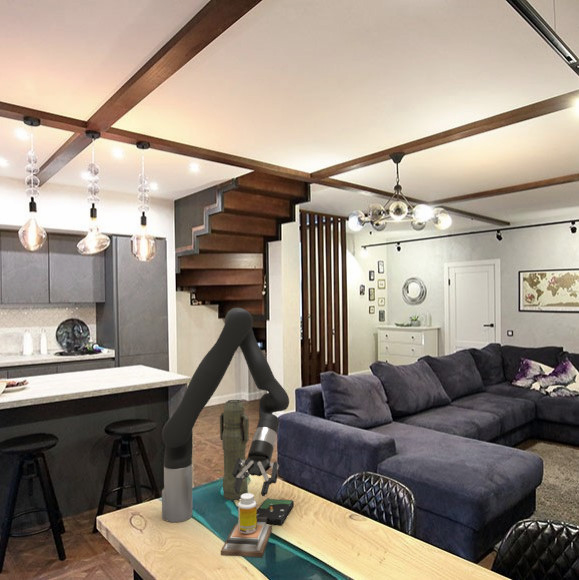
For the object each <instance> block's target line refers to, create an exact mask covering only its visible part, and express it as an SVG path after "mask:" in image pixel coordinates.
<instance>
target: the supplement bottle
mask: <svg viewBox="0 0 579 580" xmlns="http://www.w3.org/2000/svg"><path fill="white" fill-rule="evenodd" d="M254 498H255V495H254V494H253V493H250V492H249V493H248V492H247V493H245V494H242V495H241V500H239V502H238V504H237V521H238V522H237V523H238V530H239V532H241V533H243V534H251V533H253V532H255V531H256V529H257V509H258V508H257V506H258V505H257V501H256V500H255V499H254Z"/></svg>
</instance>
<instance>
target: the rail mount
mask: <svg viewBox="0 0 579 580" xmlns="http://www.w3.org/2000/svg"><path fill="white" fill-rule="evenodd" d="M266 522H267V517H257V529H256V531H255V532H253V533H251V534H243V533H241V532H239V530H238V522H237V523H234V525H233V527H232V529H231V531H230V533H229V534H228V536H227V538H226V539H225V542H224V544H223V546H222V547H221V550H220V556H234V557H235V556H236V557H254V558H263V556H264V554H265V551H266V548H267V546H268V543H269V540H270V536H271V535H272V531H273V525H267V524H266Z"/></svg>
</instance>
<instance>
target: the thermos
mask: <svg viewBox="0 0 579 580" xmlns="http://www.w3.org/2000/svg"><path fill="white" fill-rule="evenodd" d="M249 423H250V421H249V416H248V415H247V414H245V406H244V404H243V402H242V400H239V399H229V400H227V401H225V403H224V406H223V412H221V413H220V415H219V433H220V434H219V436H220V441H221V442H222V450H223V476H222V491H223V495H222V497H223V499H224V498H225V499H224V500H227V501H229V500H231V501H230V502H233V501H232V500H237V501H240V500H239V499H241V495H242V494H245V493H248V477H246V478H245V479H243V480H242V485H241V488H240V492H239V493H236V492H235V489H234V486H235V482H236V479H235V478H234V477H233V475H232V472H233V469H234V467H235V464H236V461H237V459H238V458H240V459H241V460H246V449H247V443H248V442H249V441H250V439H249ZM245 466H246V465H245V464H244V465H243V467H241V470H240V472H241V471H242V469H243V468H244V467H245Z"/></svg>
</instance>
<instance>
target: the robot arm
mask: <svg viewBox="0 0 579 580" xmlns="http://www.w3.org/2000/svg"><path fill="white" fill-rule="evenodd" d="M253 324H254V319H253V316H252V314H251V313H250V312H249V311H248V310H246V309H244V308H241V307H233V308H231V309H230V310H229V311H227V313H226V314H225V317H224V325H223V328H222V330H221V332H220V334H219V336H218V338H217V340H216V342H215V343H214V344H213V345H212V347H211V348H210V349H209V351H207V353H206V354H205V355H204V356H203V358H202V360H201V362H200V363H199V364H198V366H197V367H196V369H195V371H194V373H193V375H192V377H191V379H190V380H189V383H188V385H187V387H186V390H185V391H184V395H183V397H182V399H181V401H180V403H179V405H178V407H177V409H175V412H174V413H173V414H172V415H171V417H170V418H169V419H168V420H167V421H166V423H165V424H164V426H163V428H162V432H161V437H162V440H163V443H164V445H165V446H164V447H165V449H164V455H163V456H164V457H163V484H164V485H163V486H164V487H163V489H162V491H161V519H162V520H164V521H167V522H169V523H180V522H184V521H187V520H189V519H190V518H191V517H193V510H194V509H193V452H194V451H193V441H194V440H193V437H194V436H193V430H194V427H195V424H196V422H197V421H198V420H197V419H198V418H199V416H200V415H201V412H202V411H203V409H204V408H205V406H206V405H207V404H208V403H209V401H210V399H211V398H212V397H213V395H214V394H215V392H216V390H217V389H218V387H219V385H220V383H221V382H222V380H223V378H224V376H225V375H226V373H227V370H228V368H229V366H230V364H231V363H232V360H233V358H234V356H235V353H236V351H237V350H238V348H239V349H240V351H241V352H242V355H243V357H244V360H245V363H246V365H247V367H248V371H249V372H250V373H249V374H250V375H251V377H252V379H253V382H254V383H255V386H256V388H257V389H258V390H260V391H266V392H267V393H266V392H265V393H264V394H263V395H262V396H261V397H260V399H259V402H258V403H259V405H258V409H259V412H258V418H259V419H258V422H257V426H256V429H255V431H254V434H253V436H252V440H251V443H250V448H249V451H248V455H247V458H245V460H241V459H240V458H238V459H237V461H236V464H235V467H234V469H233V472H232V475H233V477H234V478H235V479H236V482H235V486H234V489H235V492H236V493H239V492H240V488H241V485H242V480H243V479H245V478H246V477H247V478H248V477H249V476H257V477H261V476H262V477H263V480H264V481H263V483H262V487H261V490H260V491H261V492H260V495H261V497H266V495H267V494H268V492H269V489H270V485H271V484H277V481H278V476H279V469H280V465H279V464H278V461H274V462H271V460H272V457H273V452H274V449H275V446H276V440H277V433H278V429H279V427H280V426H279V424H280V419H279V418H278V416H277V415H276V414H273V413H278V412H282V411H283V412H284V411H286V410H287V409H288V408H289V406H290V398H289V395H288V393H287V391H286V389H285V388H284V387H283V386H282V385H281V384H280V382H279V381H278V380H277V379H276V377H275V375H274V373H273V371H272V369H271V367H270V364H269V362H268V359H267V358H266V356H265V355H264V353H263V351H262V349H261V348H260V346H259V343H258V342H257V339H256V337H255V335H254V331H253V328H252V327H253ZM244 464H245V467H244V468H243V469H242V471H241V472H240V470H241V467H243V465H244ZM269 469H271V475H270V477H269V476H268V473H267V471H268V470H269Z"/></svg>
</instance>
